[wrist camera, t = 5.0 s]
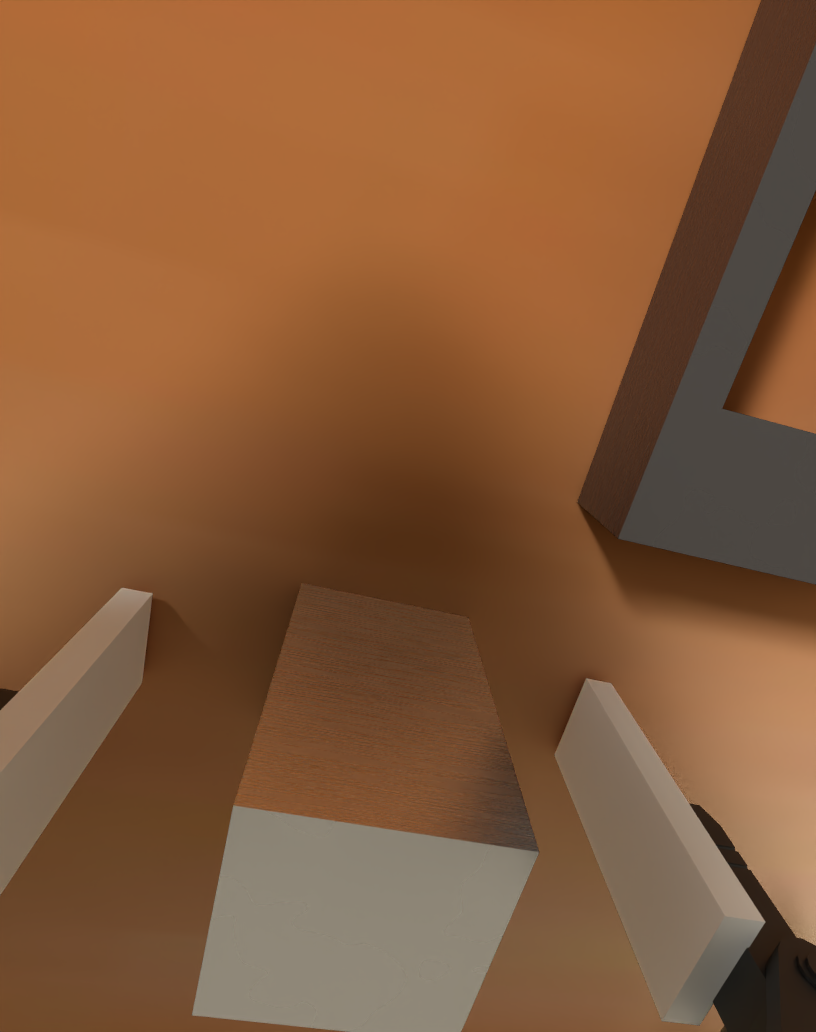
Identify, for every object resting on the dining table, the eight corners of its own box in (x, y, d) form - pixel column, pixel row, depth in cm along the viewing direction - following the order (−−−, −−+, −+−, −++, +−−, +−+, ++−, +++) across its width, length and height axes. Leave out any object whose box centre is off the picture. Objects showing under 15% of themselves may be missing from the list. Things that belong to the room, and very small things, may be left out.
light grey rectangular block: (272, 723, 16) (192, 1015, 9) (301, 582, 14) (233, 805, 8) (425, 749, 16) (455, 1043, 10) (468, 617, 15) (539, 852, 8)
